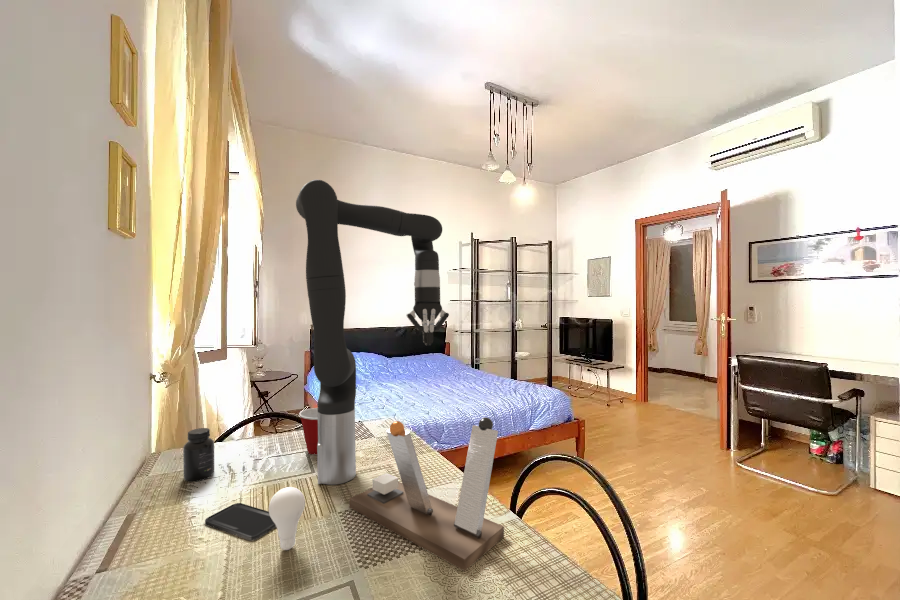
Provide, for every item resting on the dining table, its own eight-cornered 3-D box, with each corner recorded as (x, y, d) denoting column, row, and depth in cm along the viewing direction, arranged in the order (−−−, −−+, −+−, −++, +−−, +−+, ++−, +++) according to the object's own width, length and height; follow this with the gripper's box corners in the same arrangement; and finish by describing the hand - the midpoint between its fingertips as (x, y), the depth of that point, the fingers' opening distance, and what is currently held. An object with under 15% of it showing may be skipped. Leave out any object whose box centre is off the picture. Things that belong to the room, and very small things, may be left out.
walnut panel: (391, 486, 94) (391, 477, 94) (504, 536, 73) (503, 524, 73) (349, 507, 85) (349, 496, 85) (464, 571, 64) (464, 556, 64)
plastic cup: (330, 458, 112) (329, 416, 112) (293, 458, 112) (292, 416, 112) (341, 444, 123) (341, 406, 123) (307, 444, 123) (307, 406, 123)
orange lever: (416, 500, 82) (390, 415, 77) (436, 509, 78) (410, 421, 73) (407, 510, 80) (380, 423, 75) (427, 519, 76) (399, 429, 71)
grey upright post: (459, 526, 74) (479, 415, 79) (483, 537, 70) (502, 420, 76) (450, 527, 72) (471, 414, 77) (474, 539, 68) (495, 419, 74)
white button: (386, 486, 89) (386, 472, 89) (398, 491, 86) (398, 477, 86) (372, 492, 86) (372, 479, 86) (384, 498, 83) (384, 484, 83)
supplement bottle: (177, 480, 100) (176, 433, 100) (202, 469, 106) (202, 425, 106) (195, 484, 97) (194, 436, 97) (220, 473, 103) (220, 427, 103)
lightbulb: (292, 562, 67) (291, 498, 67) (261, 558, 68) (260, 495, 68) (312, 540, 73) (311, 482, 73) (283, 537, 74) (282, 479, 74)
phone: (237, 502, 86) (286, 516, 80) (237, 507, 86) (286, 522, 80) (201, 520, 79) (252, 538, 73) (202, 525, 79) (252, 544, 73)
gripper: (406, 285, 109) (407, 347, 109) (452, 285, 112) (453, 345, 112) (403, 286, 116) (404, 344, 116) (445, 286, 120) (446, 342, 120)
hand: (428, 344), depth 114 cm, fingers closed
